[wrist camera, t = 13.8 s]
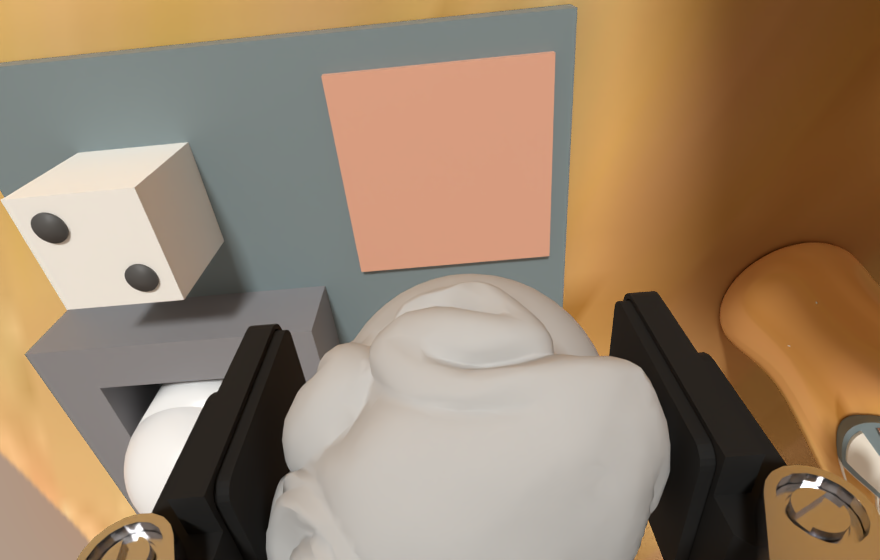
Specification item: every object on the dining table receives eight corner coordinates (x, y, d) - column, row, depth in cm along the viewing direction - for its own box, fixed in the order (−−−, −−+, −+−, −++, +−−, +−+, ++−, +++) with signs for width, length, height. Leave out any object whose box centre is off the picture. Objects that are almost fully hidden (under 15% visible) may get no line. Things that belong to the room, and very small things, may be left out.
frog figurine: (258, 363, 12) (100, 755, 6) (450, 129, 9) (495, 443, 3) (457, 466, 14) (479, 829, 8) (663, 302, 11) (913, 677, 6)
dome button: (141, 360, 23) (60, 479, 18) (276, 349, 22) (233, 467, 17) (190, 449, 26) (133, 571, 21) (308, 441, 26) (279, 562, 21)
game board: (-46, 67, 18) (-196, 108, 14) (573, 4, 17) (620, 26, 13) (232, 554, 35) (204, 640, 30) (549, 533, 34) (566, 618, 30)
